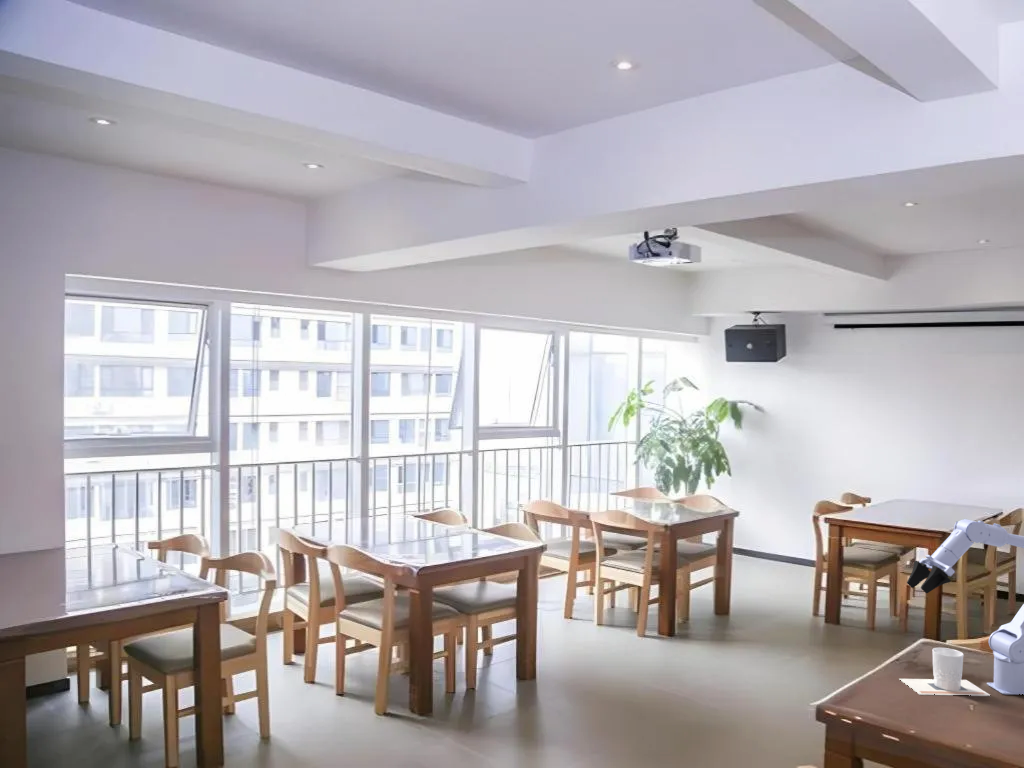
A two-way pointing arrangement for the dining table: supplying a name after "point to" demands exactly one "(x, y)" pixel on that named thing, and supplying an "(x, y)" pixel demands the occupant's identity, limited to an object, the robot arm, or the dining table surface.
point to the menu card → (930, 689)
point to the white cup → (947, 668)
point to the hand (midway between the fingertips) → (916, 588)
